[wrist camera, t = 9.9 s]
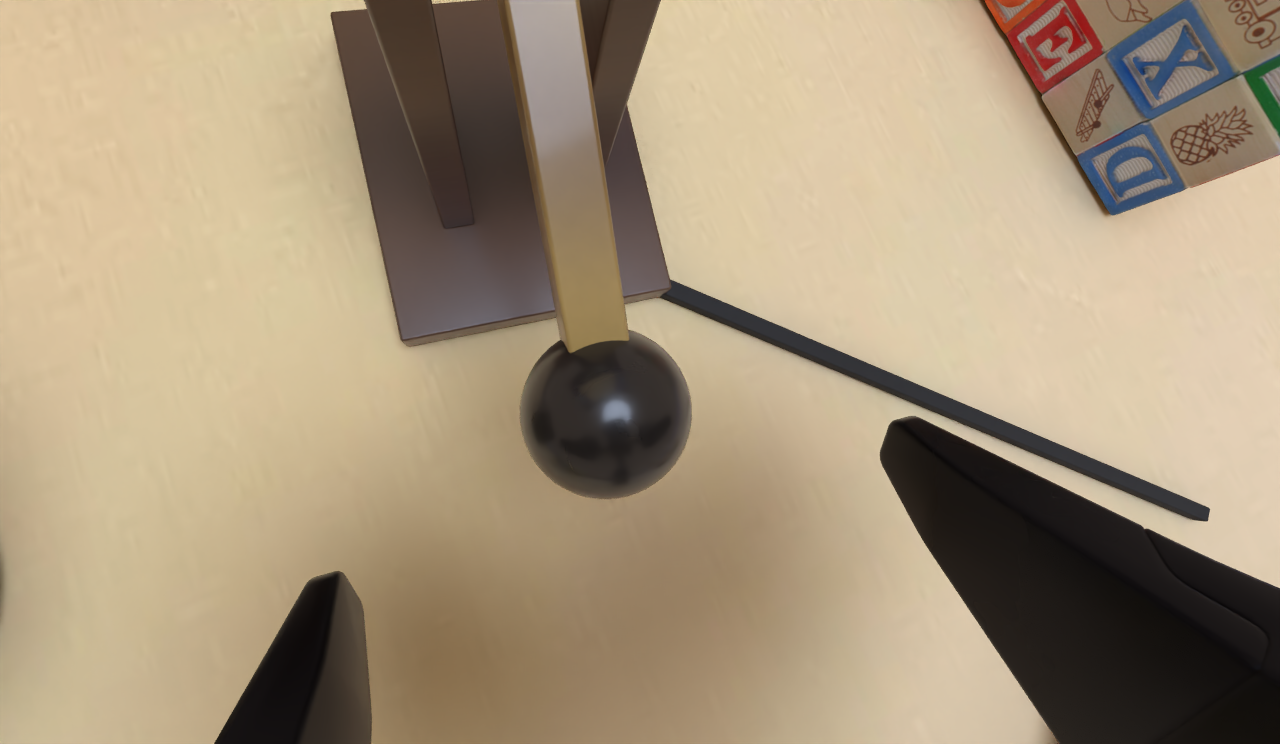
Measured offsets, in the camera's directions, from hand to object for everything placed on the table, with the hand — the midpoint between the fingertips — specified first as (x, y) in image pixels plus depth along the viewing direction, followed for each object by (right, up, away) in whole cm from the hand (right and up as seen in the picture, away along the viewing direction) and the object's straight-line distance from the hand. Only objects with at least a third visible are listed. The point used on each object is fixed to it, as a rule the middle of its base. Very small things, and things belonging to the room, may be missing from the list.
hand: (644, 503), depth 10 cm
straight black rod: (+12, +1, +14) cm, 19 cm away
